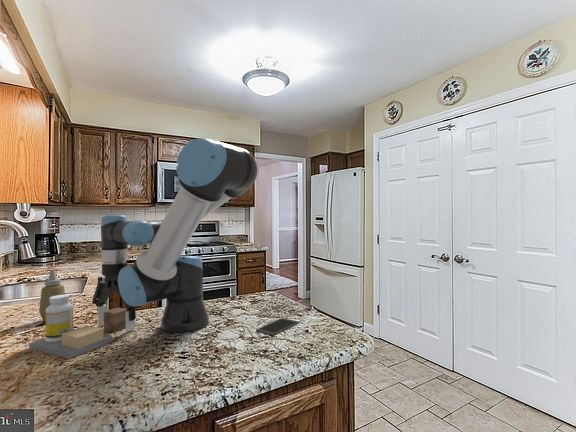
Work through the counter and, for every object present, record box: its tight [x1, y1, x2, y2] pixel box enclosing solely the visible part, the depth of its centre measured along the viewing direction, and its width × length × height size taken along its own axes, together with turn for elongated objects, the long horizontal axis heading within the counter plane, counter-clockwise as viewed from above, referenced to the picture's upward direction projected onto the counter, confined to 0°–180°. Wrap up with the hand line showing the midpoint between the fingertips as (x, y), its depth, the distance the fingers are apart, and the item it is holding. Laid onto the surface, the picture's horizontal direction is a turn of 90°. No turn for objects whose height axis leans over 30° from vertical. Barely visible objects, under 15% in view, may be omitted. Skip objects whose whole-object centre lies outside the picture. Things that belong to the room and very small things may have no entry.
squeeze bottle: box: [38, 269, 66, 323], centre depth 112 cm, size 8×8×18 cm
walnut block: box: [103, 307, 127, 333], centre depth 102 cm, size 5×5×6 cm
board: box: [28, 325, 114, 360], centre depth 89 cm, size 18×12×4 cm, turn 66°
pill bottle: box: [45, 294, 74, 340], centre depth 91 cm, size 6×6×12 cm
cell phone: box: [255, 317, 299, 337], centre depth 100 cm, size 7×14×1 cm, turn 143°
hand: (116, 328), depth 102 cm, fingers open, 12 cm apart
